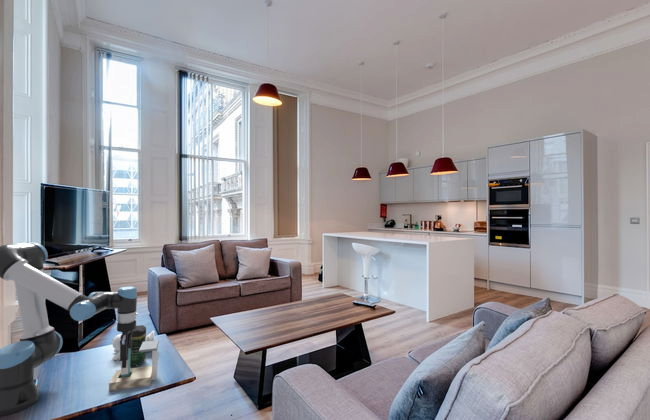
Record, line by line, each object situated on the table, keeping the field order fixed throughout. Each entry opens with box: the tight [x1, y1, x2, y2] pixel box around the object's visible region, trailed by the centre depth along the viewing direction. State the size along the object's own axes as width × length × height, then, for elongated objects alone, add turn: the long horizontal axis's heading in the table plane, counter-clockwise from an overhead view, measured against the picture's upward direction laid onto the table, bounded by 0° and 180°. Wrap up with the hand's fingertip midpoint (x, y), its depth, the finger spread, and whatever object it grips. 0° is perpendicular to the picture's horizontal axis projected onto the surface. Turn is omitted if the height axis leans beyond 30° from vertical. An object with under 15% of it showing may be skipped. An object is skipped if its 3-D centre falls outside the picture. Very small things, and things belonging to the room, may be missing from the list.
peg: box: [121, 348, 131, 378], centre depth 147 cm, size 4×4×14 cm
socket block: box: [108, 365, 153, 392], centre depth 148 cm, size 16×12×4 cm
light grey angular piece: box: [139, 339, 160, 381], centre depth 150 cm, size 7×10×16 cm
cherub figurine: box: [111, 330, 155, 361], centre depth 176 cm, size 13×12×20 cm
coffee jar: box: [130, 324, 147, 368], centre depth 166 cm, size 10×8×19 cm
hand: (125, 371), depth 147 cm, fingers closed on peg, 3 cm apart
